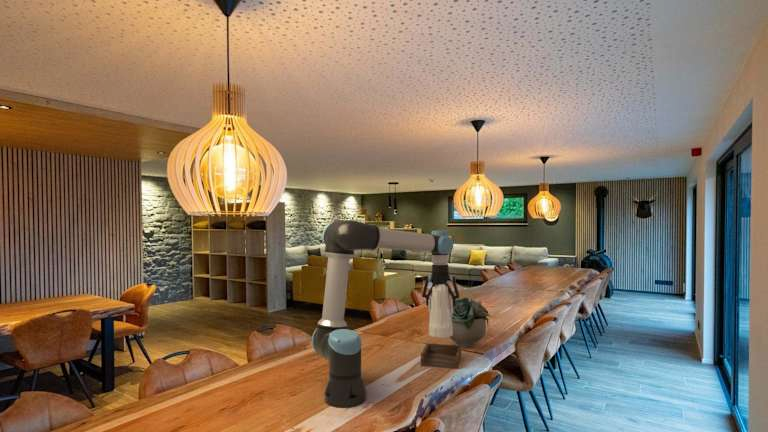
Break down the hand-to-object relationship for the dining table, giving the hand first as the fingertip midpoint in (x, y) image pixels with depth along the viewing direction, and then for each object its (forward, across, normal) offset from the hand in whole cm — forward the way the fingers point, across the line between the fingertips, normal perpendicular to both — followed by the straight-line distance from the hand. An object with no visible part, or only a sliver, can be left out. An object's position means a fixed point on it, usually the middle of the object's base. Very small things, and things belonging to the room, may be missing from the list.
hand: (441, 313), depth 186 cm
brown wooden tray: (+22, 0, 0) cm, 22 cm away
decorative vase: (+10, 0, 0) cm, 10 cm away
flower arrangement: (+22, -9, -28) cm, 36 cm away
